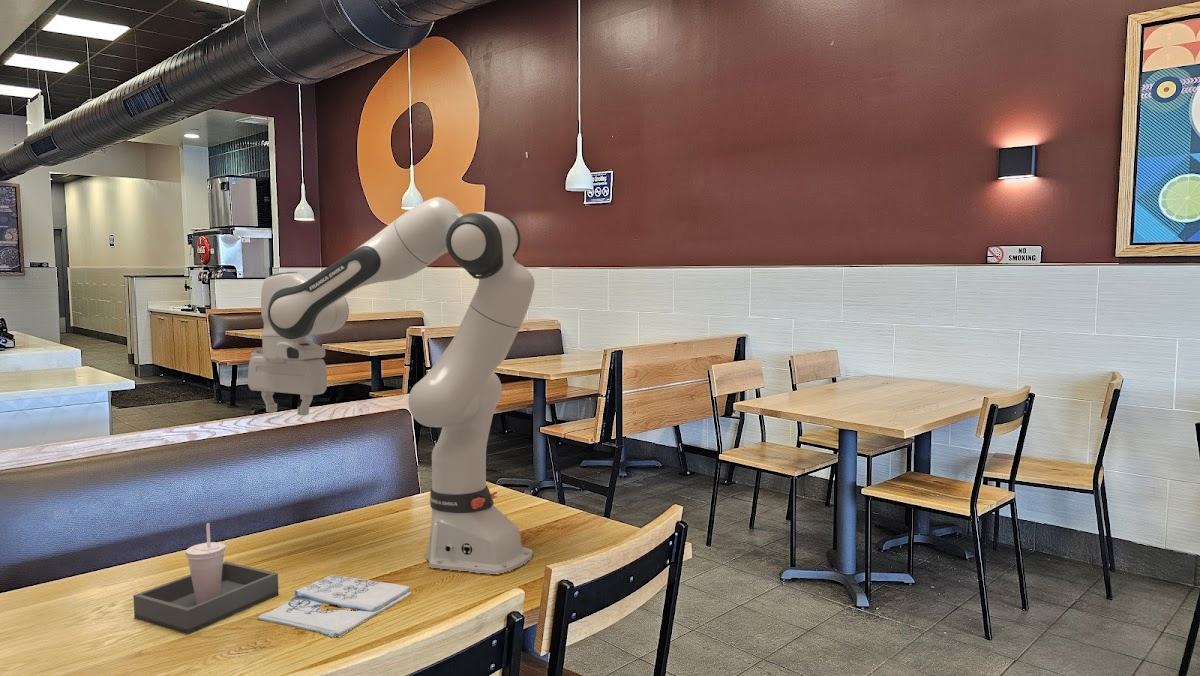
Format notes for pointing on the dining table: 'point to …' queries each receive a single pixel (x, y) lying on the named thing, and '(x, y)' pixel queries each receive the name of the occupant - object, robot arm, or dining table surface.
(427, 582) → the dining table surface
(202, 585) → the smoothie
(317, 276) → the robot arm
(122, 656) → the dining table surface
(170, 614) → the tray
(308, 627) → the folded bicycle print cloth
